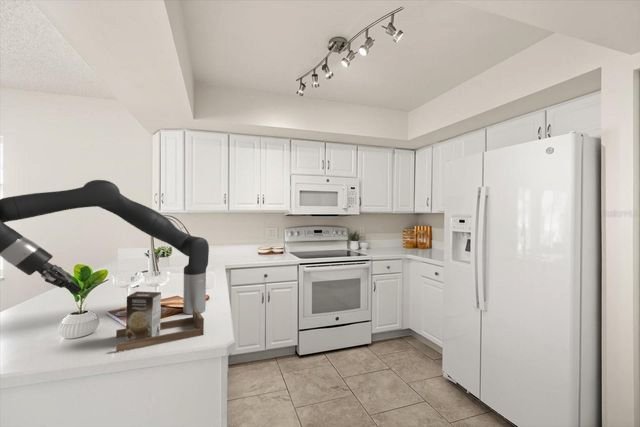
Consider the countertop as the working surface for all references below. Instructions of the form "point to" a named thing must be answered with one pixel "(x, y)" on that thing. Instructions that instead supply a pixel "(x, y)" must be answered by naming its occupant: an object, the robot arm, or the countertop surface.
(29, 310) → the countertop surface
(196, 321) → the walnut chute
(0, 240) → the robot arm
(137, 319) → the coffee box
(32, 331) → the countertop surface
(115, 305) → the countertop surface
